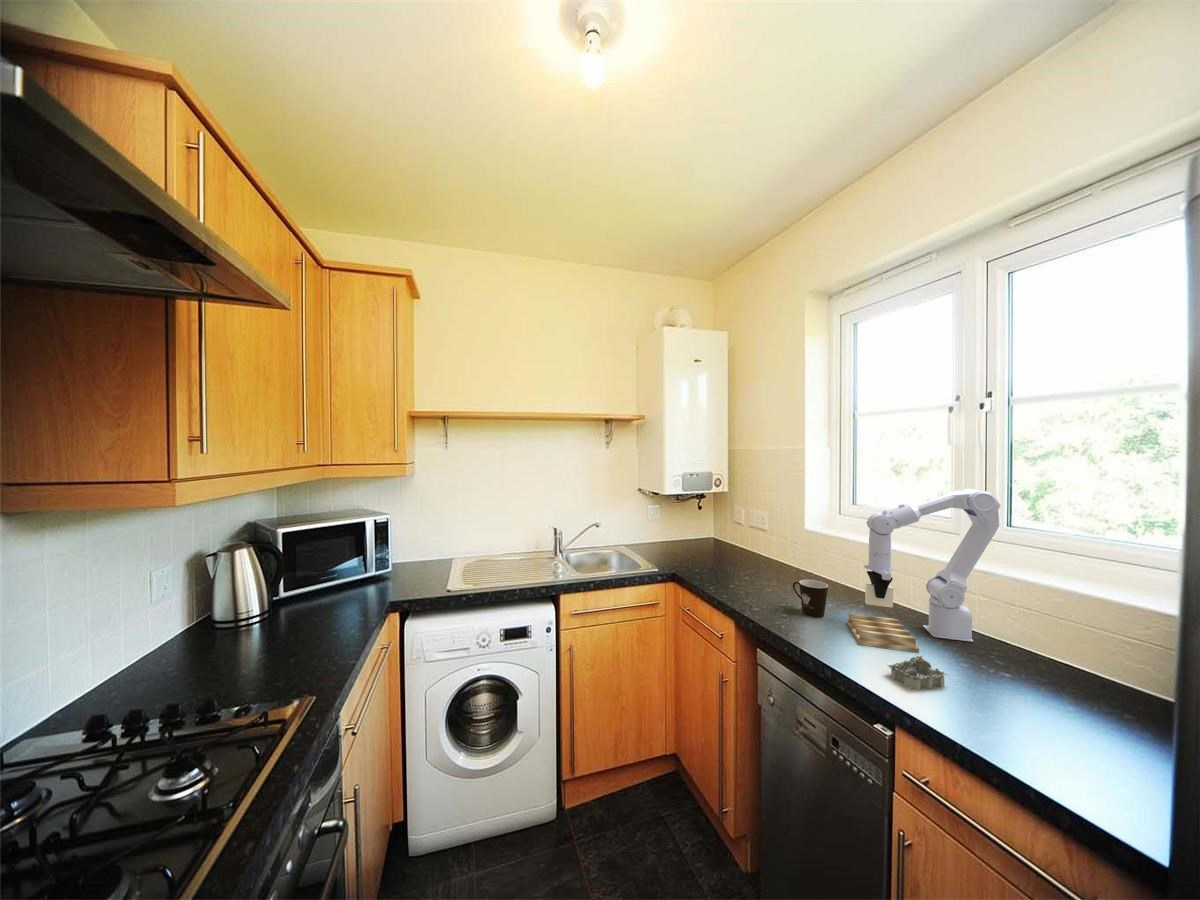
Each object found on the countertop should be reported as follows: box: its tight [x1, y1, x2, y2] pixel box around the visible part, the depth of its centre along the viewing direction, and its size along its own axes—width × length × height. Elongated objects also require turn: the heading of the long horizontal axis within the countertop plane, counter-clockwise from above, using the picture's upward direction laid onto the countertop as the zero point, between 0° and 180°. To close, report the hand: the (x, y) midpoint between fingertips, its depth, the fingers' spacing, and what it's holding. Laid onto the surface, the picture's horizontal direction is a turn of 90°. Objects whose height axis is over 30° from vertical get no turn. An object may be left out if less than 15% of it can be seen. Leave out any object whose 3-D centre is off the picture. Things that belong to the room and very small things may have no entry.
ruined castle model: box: [886, 655, 948, 691], centre depth 99 cm, size 11×8×4 cm
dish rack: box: [845, 613, 920, 654], centre depth 122 cm, size 14×15×4 cm
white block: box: [864, 583, 894, 609], centre depth 131 cm, size 7×2×6 cm, turn 71°
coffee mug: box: [792, 579, 829, 619], centre depth 141 cm, size 12×9×10 cm
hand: (878, 596), depth 131 cm, fingers closed on white block, 2 cm apart
